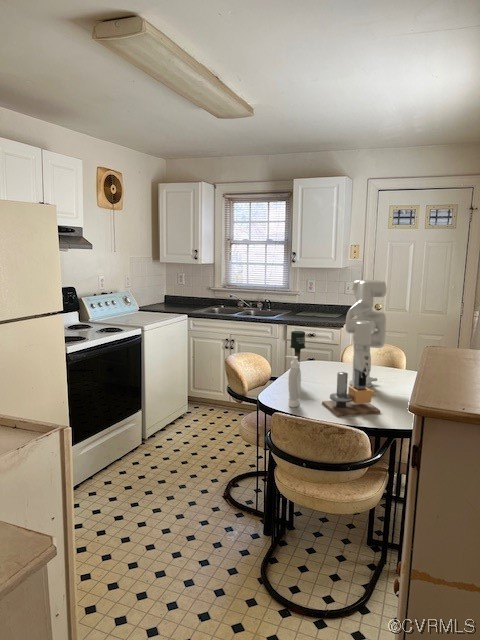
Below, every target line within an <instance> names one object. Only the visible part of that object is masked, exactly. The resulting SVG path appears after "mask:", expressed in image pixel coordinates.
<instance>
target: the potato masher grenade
mask: <svg viewBox="0 0 480 640" xmlns="http://www.w3.org/2000/svg"><path fill="white" fill-rule="evenodd" d="M290 334H291V335H290V346H289V347H290V349H294V356H297V357H298V359H297V360H298V362H300V360H301V351H302V349H305V348H306V345H305V344H306V331H304V330H292V331H291V332H290Z"/></svg>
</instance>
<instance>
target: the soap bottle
mask: <svg viewBox="0 0 480 640" xmlns="http://www.w3.org/2000/svg"><path fill="white" fill-rule="evenodd" d="M285 358H290V359H293V360H291V362H290V369H289V373H288V393H289V395H288V396H289V398H288V404H287V405H288V407H290V408H296V407H298V406H299V405H300V393H301V386H302V385H301V382H302V375H301V374H302V373H301V372H302V371H301V367H300V365H301V363H300V362H298V360H297V359H298V357H297V356H295V355H294V356H292V355H285Z"/></svg>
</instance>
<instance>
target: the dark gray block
mask: <svg viewBox="0 0 480 640" xmlns="http://www.w3.org/2000/svg"><path fill="white" fill-rule="evenodd" d="M363 371H365V370H363ZM363 374H364V373H363ZM360 378H361V377H360V371H358V370H355V380H354V389H356V390H366V386H359V380H360Z"/></svg>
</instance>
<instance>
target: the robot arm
mask: <svg viewBox="0 0 480 640" xmlns="http://www.w3.org/2000/svg"><path fill="white" fill-rule="evenodd" d="M352 291H353V294H354V296H355V300H356V303H355V304H353V305H352V306H351V307H350V308H349V309H348V311H347V313H346V316H345V317H346V318H345V331H346V332H347V333H348V334H351V335H352V345H353V355H352V357H353V358H352V377H351V380H349V382H348V383H349V385H350V386H354V380H355V370H358V371H360V377H361V378H360V380H359V386H366V387H367V388H371V387H372V386H373V382H378V378H377V377H373V376H372V377H371V376H370V375H371V374H370V373H371V370H372V358H371V357H372V355H371V349H372V348H373V349H374V348H375V349H382V348H384V346H385V343H386V330H387V317H386V314H385V313H384V312H383V311H378V310H377V311H374V309H373V307H374V299H375V298H384V297H385V296H386V294H387V284H386V282H385V280H378V279H375V280H374V279H372V280H371V279H358V280H355V281H354V282H353V283H352ZM355 316H356V318H355ZM363 370H365V371H363ZM363 373H364V374H363Z"/></svg>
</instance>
